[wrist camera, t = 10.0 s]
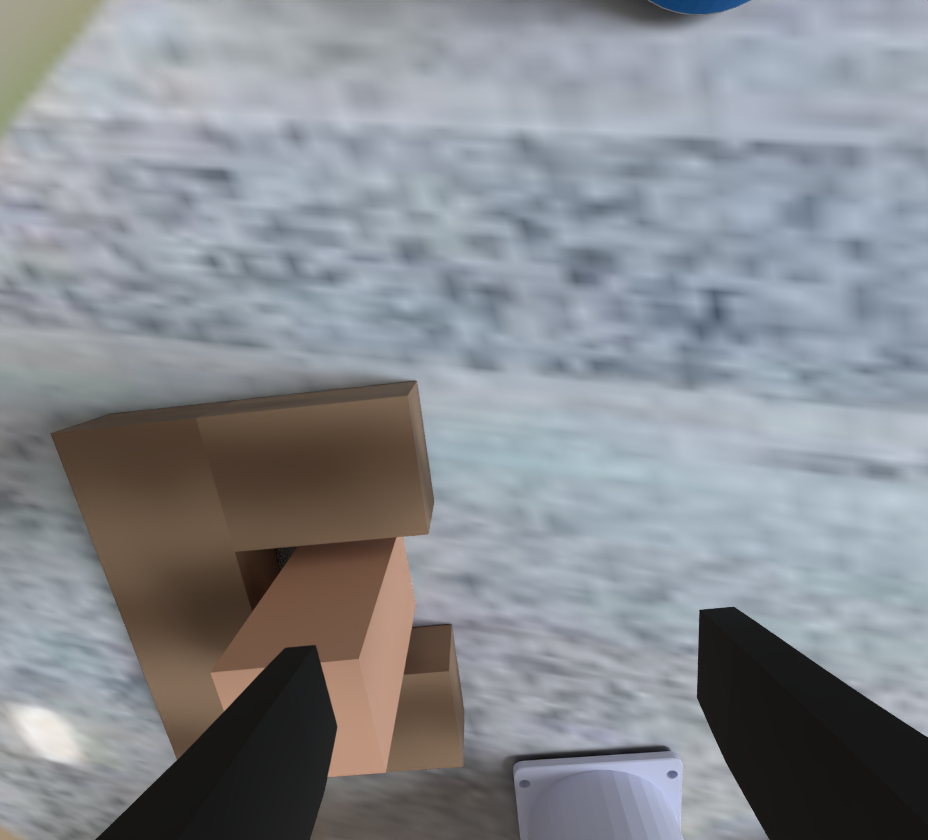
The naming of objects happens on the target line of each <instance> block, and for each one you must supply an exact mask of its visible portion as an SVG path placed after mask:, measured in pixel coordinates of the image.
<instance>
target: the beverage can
mask: <svg viewBox="0 0 928 840" xmlns="http://www.w3.org/2000/svg"><path fill="white" fill-rule="evenodd" d="M648 1H649V2H651V3H653V4H655V5H657V6H659V7H661V8H663V9H666V10H669V11H672V12H675V13H681V14H687V15H707V14H714V13H720V12H723V11H726V10H729V9H733V8H736V7H738V6H740V5H742V4H744V3H746V2H748V1H750V0H648Z"/></svg>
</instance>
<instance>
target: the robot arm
mask: <svg viewBox="0 0 928 840" xmlns="http://www.w3.org/2000/svg"><path fill="white" fill-rule="evenodd" d="M697 699H698V701H699V703H700V706H701V708H702V710H703V712H704V715H705V717H706V719H707V722H708V724H709V726H710V729H711V731H712V733H713V735H714V737H715V740H716V742H717V744H718V746H719V748H720V750H721V753H722V755H723V757H724V759H725V761H726V763H727V765H728V767H729V769H730V771H731V772H732V774H733V776H734V778H735V780H736V781H737V783H738V785H739V787H740V788H741V790H742V792H743V794H744V796H745V797H746V799H747V801H748V803H749V804H750V806H751V808H752V810H753V812H754V813H755V815H756V817H757V819H758V820H759V822H760V824H761V826H762V827H763V829H764V831H765V833H766V834H767V836H768V838H769V840H928V737H926V736H925V735H923V734H921V733H920V732H918V731H917V730H915V729H914V728H912V727H911V726H909V725H908V724H906V723H904V722H903V721H901V720H900V719H898V718H897V717H895V716H894V715H892V714H891V713H889V712H888V711H886V710H884V709H883V708H881V707H880V706H878V705H877V704H875V703H874V702H872V701H871V700H869V699H868V698H866V697H865V696H863V695H862V694H860V693H859V692H857V691H856V690H854V689H853V688H851V687H850V686H848V685H847V684H846V683H844V682H843V681H841V680H840V679H838V678H837V677H835V676H834V675H832V674H831V673H829V672H828V671H826V670H825V669H824V668H822V667H821V666H819V665H818V664H816V663H815V662H813V661H812V660H810V659H809V658H808V657H806V656H805V655H803V654H802V653H800V652H799V651H797V650H796V649H795V648H793V647H792V646H790V645H789V644H787V643H786V642H785V641H783V640H782V639H780V638H779V637H777V636H776V635H774V634H773V633H772V632H770V631H769V630H767V629H766V628H764V627H763V626H762V625H760V624H759V623H757V622H756V621H754V620H753V619H751V618H750V617H748V616H747V615H745V614H744V613H742V612H741V611H739V610H738V609H736V608H735V607H726V608H715V609H704V610H700V613H699V648H698V683H697ZM337 728H338V726H337V723H336V719H335V715H334V711H333V708H332V704H331V700H330V696H329V692H328V689H327V685H326V681H325V677H324V674H323V670H322V666H321V662H320V659H319V655H318V651H317V647H316V645H309V646H298V647H287V648H284V649H283V650H282V651H281V652H280V653H279V654H278V655H277V656H276V657H275V658H274V659H273V660H272V661H271V662H270V663H269V664H268V665H267V667H266V668H265V669H264V670H263V671H262V672H261V673H260V674H259V675H258V676H257V677H256V678H255V679H254V680H253V681H252V682H251V683H250V684H249V686H248V687H247V688H246V689H245V690H244V691H243V692H242V693H241V694H240V695H239V696H238V697H237V698H236V699H235V700H234V701H233V703H232V704H231V705H230V706H229V707H228V708H227V709H226V710H225V711H224V712H223V713H222V714H221V715H220V716H219V717H218V718H217V719H216V720H215V721H214V722H213V723H212V724H211V725H210V727H209V728H208V729H207V730H206V731H205V732H204V733H203V734H202V735H201V736H200V737H199V738H198V739H197V740H196V741H195V742H194V743H193V744H192V745H191V746H190V747H189V748H188V749H187V750H186V751H185V752H184V754H183V755H182V756H181V757H180V758H179V759H178V760H177V761H176V762H175V763H174V764H173V765H172V766H171V767H170V768H168V769H167V770H166V771H165V772H164V773H163V774H162V775H161V776H160V777H159V778H158V779H157V780H156V781H155V782H154V783H153V784H152V785H151V786H150V787H149V788H148V789H147V790H146V791H145V792H144V793H143V794H142V795H141V796H140V797H139V798H138V799H137V800H136V801H135V802H134V803H133V804H132V805H131V806H130V807H129V808H128V809H127V810H126V811H125V812H123V813H122V814H121V815H120V816H119V817H118V818H117V819H116V820H115V821H114V822H113V823H112V824H111V825H110V826H109V827H108V828H107V829H106V830H105V831H104V832H103V833H102V834H101V835H100V836H99V837H98V838H96V839H95V840H310V837H311V834H312V831H313V827H314V824H315V821H316V818H317V814H318V811H319V808H320V804H321V801H322V798H323V794H324V791H325V786H326V782H327V777H328V772H329V768H330V763H331V758H332V753H333V748H334V743H335V738H336V733H337ZM682 766H683V765H682V761H681V759H680V757H679V755H678V754H677V753H675V752H672V751H664V752H649V753H634V754H619V755H604V756H588V757H573V758H558V759H543V760H528V761H519V762H517V763H516V764H515V765H514V766H513V776H514V785H515V794H516V804H517V813H518V822H519V831H520V840H684V839H683V836H682V834H681V831H680V827H681V797H682Z"/></svg>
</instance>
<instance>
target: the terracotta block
mask: <svg viewBox="0 0 928 840" xmlns="http://www.w3.org/2000/svg"><path fill="white" fill-rule="evenodd" d="M415 607H416V603H415V597H414V592H413V586H412V581H411V576H410V570H409V565H408V560H407V554H406V549H405V544H404V538H403V537H393V538H382V539H371V540H360V541H349V542H338V543H327V544H316V545H305V546H298V547H297V548H296V550H295V551H294V553H293V554H292V556H291V557H290V558H289V560H288V561H287V563H286V564H285V566H284V567H283V569H282V570H281V571H280V573H279V574H278V576H277V577H276V579H275V580H274V581H273V583H272V584H271V586H270V587H269V589H268V590H267V592H266V593H265V594H264V596H263V597H262V599H261V600H260V602H259V603H258V605H257V606H256V607H255V609H254V610H253V612H252V613H251V615H250V616H249V618H248V619H247V620H246V622H245V623H244V625H243V626H242V628H241V629H240V631H239V632H238V633H237V635H236V636H235V638H234V639H233V641H232V642H231V644H230V645H229V646H228V648H227V649H226V651H225V652H224V654H223V655H222V656H221V658H220V659H219V661H218V662H217V664H216V665H215V667H214V668H213V669H212V671H211V672H210V673H211V676H212V679H213V682H214V684H215V687H216V690H217V693H218V696H219V698H220V701H221V704H222V707H223V710H224V711H225V710H226V709H227V708H228V707H229V706H230V705H231V704H232V703H233V701H234V700H235V699H236V698H237V697H238V696H239V695H240V694H241V693H242V692H243V691H244V690H245V689H246V688H247V687H248V686H249V684H250V683H251V682H252V681H253V680H254V679H255V678H256V677H257V676H258V675H259V674H260V673H261V672H262V671H263V670H264V669H265V668H266V667H267V665H268V664H269V663H270V662H271V661H272V660H273V659H274V658H275V657H276V656H277V655H278V654H279V653H280V652H281V651H282V650H283V649H284V648H287V647H298V646H309V645H316V647H317V651H318V655H319V659H320V662H321V666H322V670H323V674H324V677H325V681H326V685H327V689H328V692H329V696H330V700H331V704H332V708H333V711H334V715H335V719H336V723H337V726H338V728H337V733H336V738H335V743H334V748H333V753H332V758H331V763H330V768H329V772H328V777H336V776H349V775H362V774H375V773H386V768H387V763H388V757H389V752H390V746H391V741H392V735H393V730H394V724H395V718H396V713H397V707H398V702H399V696H400V691H401V685H402V680H403V674H404V668H405V663H406V657H407V652H408V646H409V641H410V635H411V630H412V624H413V618H414V613H415Z"/></svg>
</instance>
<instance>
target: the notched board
mask: <svg viewBox="0 0 928 840" xmlns="http://www.w3.org/2000/svg"><path fill="white" fill-rule="evenodd" d="M51 436H52V438H53V441H54V443H55V446H56V449H57V451H58V454H59V456H60V459H61V462H62V464H63V467H64V469H65V472H66V474H67V477H68V480H69V482H70V485H71V487H72V490H73V492H74V495H75V498H76V500H77V503H78V505H79V508H80V511H81V513H82V516H83V518H84V521H85V523H86V526H87V529H88V531H89V534H90V536H91V539H92V541H93V544H94V547H95V549H96V552H97V554H98V557H99V560H100V562H101V565H102V567H103V570H104V572H105V575H106V578H107V580H108V583H109V585H110V588H111V590H112V593H113V596H114V598H115V601H116V603H117V606H118V609H119V611H120V614H121V616H122V619H123V621H124V624H125V627H126V629H127V632H128V634H129V637H130V639H131V642H132V645H133V647H134V650H135V652H136V655H137V658H138V660H139V663H140V665H141V668H142V670H143V673H144V676H145V678H146V681H147V683H148V686H149V688H150V691H151V694H152V696H153V699H154V701H155V704H156V707H157V709H158V712H159V714H160V717H161V719H162V722H163V725H164V727H165V730H166V732H167V735H168V737H169V740H170V743H171V745H172V748H173V750H174V753H175V756H176V758H177V760H178V759H179V758H180V757H181V756H182V755H183V754H184V752H185V751H186V750H187V749H188V748H189V747H190V746H191V745H192V744H193V743H194V742H195V741H196V740H197V739H198V738H199V737H200V736H201V735H202V734H203V733H204V732H205V731H206V730H207V729H208V728H209V727H210V725H211V724H212V723H213V722H214V721H215V720H216V719H217V718H218V717H219V716H220V715H221V714H222V713H223V712H224V710H223V707H222V704H221V701H220V698H219V696H218V693H217V690H216V687H215V684H214V682H213V679H212V676H211V673H210V672H211V671H212V669H213V668H214V667H215V665H216V664H217V662H218V661H219V659H220V658H221V656H222V655H223V654H224V652H225V651H226V649H227V648H228V646H229V645H230V644H231V642H232V641H233V639H234V638H235V636H236V635H237V633H238V632H239V631H240V629H241V628H242V626H243V625H244V623H245V622H246V620H247V619H248V618H249V616H250V615H251V613H252V612H253V610H254V609H255V607H256V606H257V605H258V603H259V602H260V600H261V599H262V597H263V596H264V594H265V593H266V592H267V590H268V589H269V587H270V586H271V584H272V583H273V581H274V580H275V579H276V577H277V576H278V574H279V573H280V568H279V564H278V561H277V557H276V553H275V549H274V548H283V547H294V546H305V545H316V544H327V543H338V542H349V541H360V540H371V539H382V538H393V537H404V536H415V535H426V534H428V533H429V528H430V522H431V517H432V511H433V506H434V497H433V490H432V483H431V476H430V469H429V462H428V455H427V448H426V441H425V434H424V427H423V420H422V413H421V406H420V399H419V392H418V385H417V381H412V382H402V383H393V384H384V385H374V386H365V387H356V388H346V389H337V390H328V391H319V392H309V393H300V394H291V395H281V396H272V397H263V398H254V399H244V400H235V401H226V402H216V403H207V404H198V405H189V406H179V407H170V408H161V409H151V410H142V411H133V412H123V413H114V414H109V415H106V416H103V417H100V418H96V419H93V420H90V421H87V422H84V423H81V424H78V425H75V426H72V427H69V428H66V429H63V430H60V431H57V432H54V433H51ZM463 758H464V706H463V699H462V692H461V685H460V678H459V672H458V665H457V658H456V651H455V644H454V637H453V630H452V625H440V626H428V627H415V628H412V630H411V635H410V641H409V646H408V652H407V657H406V663H405V668H404V674H403V680H402V685H401V691H400V696H399V702H398V707H397V713H396V718H395V724H394V730H393V735H392V741H391V746H390V752H389V757H388V763H387V768H386V772H393V771H408V770H423V769H439V768H454V767H463Z"/></svg>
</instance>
